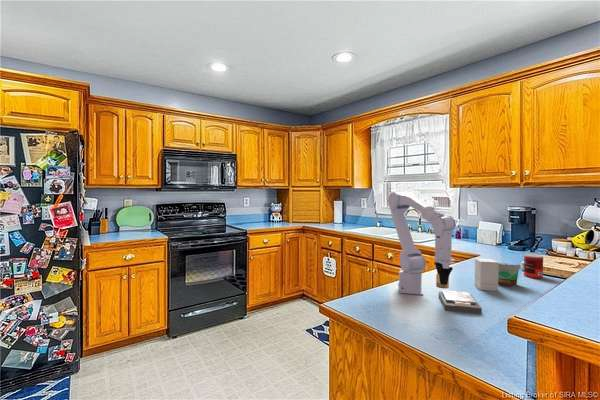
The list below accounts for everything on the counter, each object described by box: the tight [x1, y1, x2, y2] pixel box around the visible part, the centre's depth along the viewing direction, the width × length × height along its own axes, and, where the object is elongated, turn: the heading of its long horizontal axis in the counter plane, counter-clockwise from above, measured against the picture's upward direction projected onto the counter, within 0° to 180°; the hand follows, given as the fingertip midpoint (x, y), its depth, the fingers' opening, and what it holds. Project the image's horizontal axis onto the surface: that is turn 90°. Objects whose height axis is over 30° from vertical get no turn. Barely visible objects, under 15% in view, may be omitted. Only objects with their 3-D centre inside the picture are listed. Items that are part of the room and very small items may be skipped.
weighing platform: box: [441, 289, 477, 304], centre depth 121 cm, size 10×11×1 cm
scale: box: [438, 291, 483, 315], centre depth 119 cm, size 12×15×3 cm
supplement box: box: [474, 257, 500, 292], centre depth 139 cm, size 7×7×13 cm
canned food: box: [523, 253, 544, 280], centre depth 156 cm, size 8×8×11 cm
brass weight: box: [435, 273, 450, 290], centre depth 119 cm, size 4×4×4 cm
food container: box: [498, 262, 522, 288], centre depth 143 cm, size 12×6×10 cm, turn 68°
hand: (442, 282), depth 119 cm, fingers closed on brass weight, 4 cm apart
